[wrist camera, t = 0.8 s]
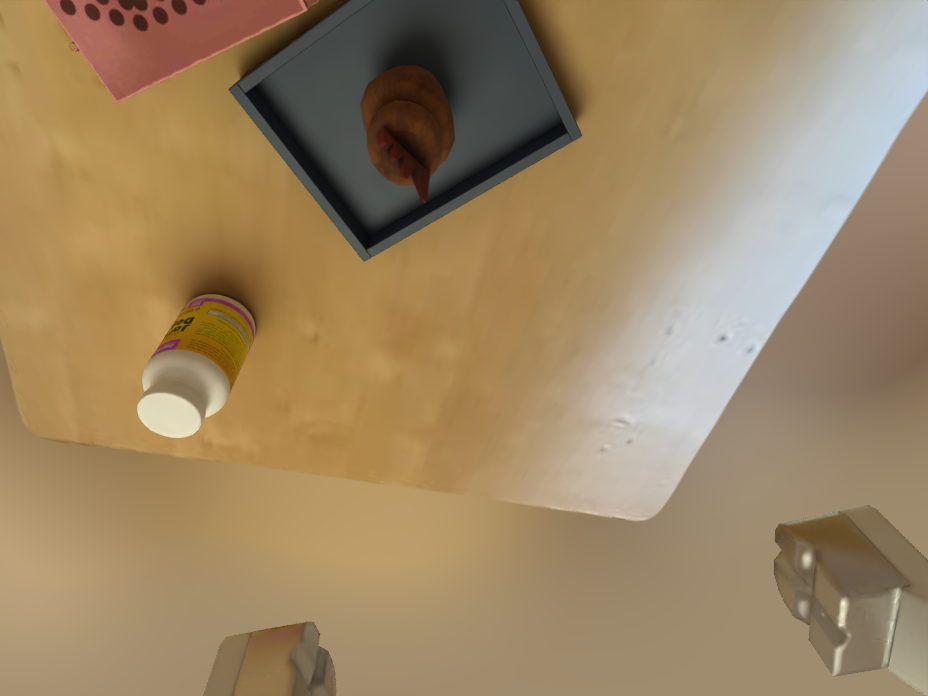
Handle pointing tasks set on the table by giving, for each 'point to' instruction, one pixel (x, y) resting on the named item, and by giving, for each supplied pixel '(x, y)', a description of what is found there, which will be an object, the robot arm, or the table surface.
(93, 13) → the book
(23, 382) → the table surface
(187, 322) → the supplement bottle
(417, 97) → the wooden figurine
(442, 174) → the tray
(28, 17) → the table surface
